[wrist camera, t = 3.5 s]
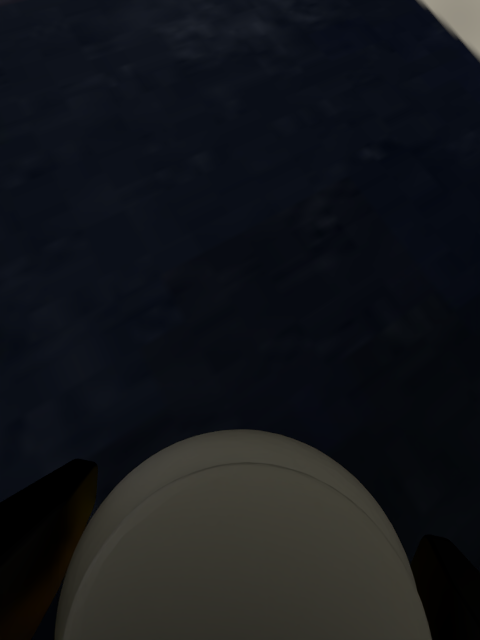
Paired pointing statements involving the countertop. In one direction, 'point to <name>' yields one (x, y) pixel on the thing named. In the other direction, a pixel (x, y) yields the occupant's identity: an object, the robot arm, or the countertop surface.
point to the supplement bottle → (240, 551)
